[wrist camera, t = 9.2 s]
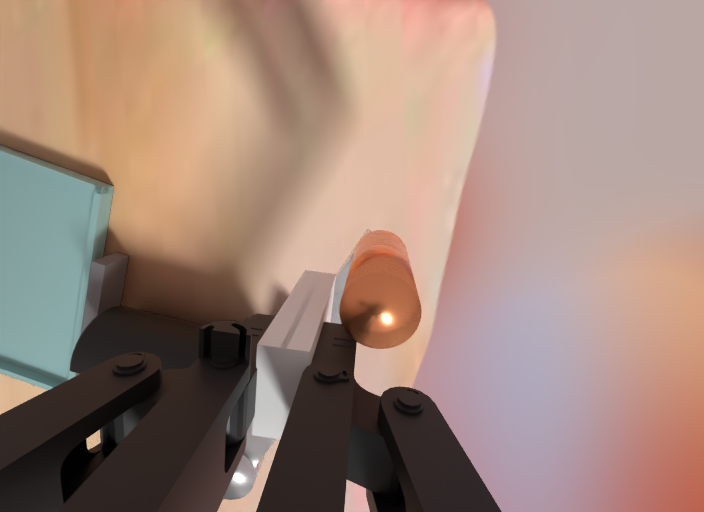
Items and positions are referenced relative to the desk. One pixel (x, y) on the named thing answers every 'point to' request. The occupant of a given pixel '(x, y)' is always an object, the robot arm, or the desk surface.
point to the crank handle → (356, 320)
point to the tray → (46, 263)
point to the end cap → (136, 339)
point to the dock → (104, 285)
